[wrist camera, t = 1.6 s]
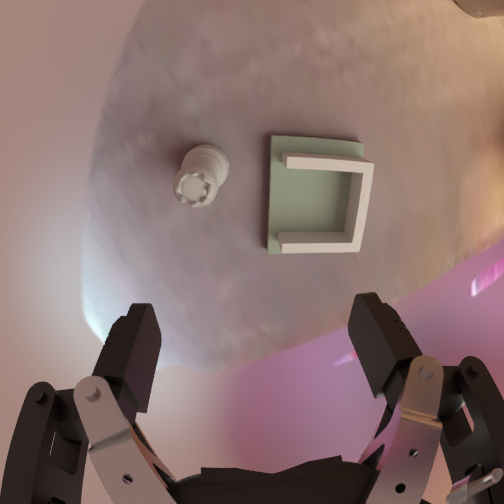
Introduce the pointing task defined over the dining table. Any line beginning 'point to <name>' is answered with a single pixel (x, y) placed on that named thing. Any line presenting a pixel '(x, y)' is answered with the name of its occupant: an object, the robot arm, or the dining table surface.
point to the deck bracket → (317, 195)
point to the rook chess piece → (200, 175)
